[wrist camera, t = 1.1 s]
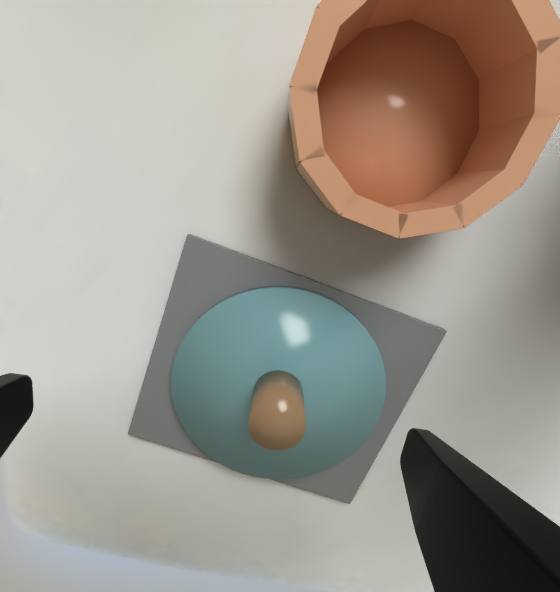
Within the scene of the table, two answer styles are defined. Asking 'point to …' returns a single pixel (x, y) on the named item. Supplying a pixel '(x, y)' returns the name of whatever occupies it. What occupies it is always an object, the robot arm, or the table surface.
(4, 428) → the robot arm
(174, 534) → the table surface
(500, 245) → the table surface
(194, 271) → the mat
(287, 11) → the table surface
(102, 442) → the table surface
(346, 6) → the bowl
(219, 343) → the lid
